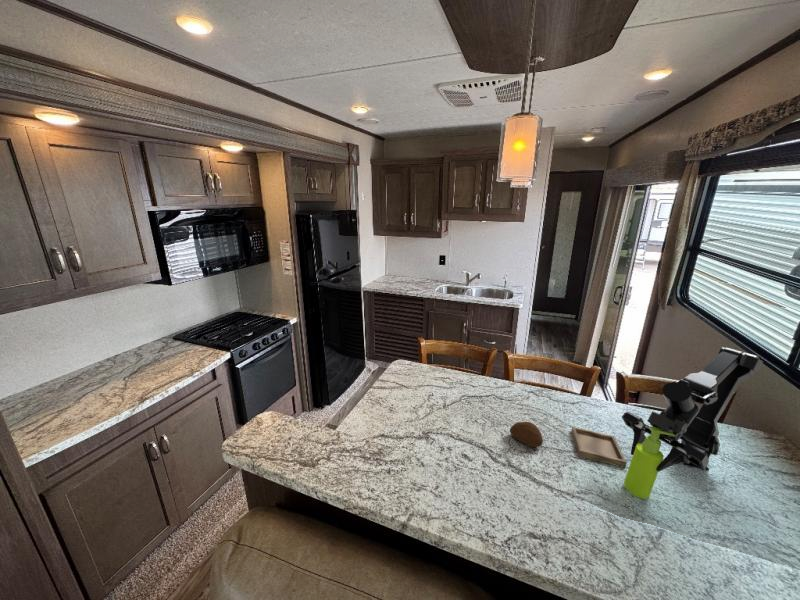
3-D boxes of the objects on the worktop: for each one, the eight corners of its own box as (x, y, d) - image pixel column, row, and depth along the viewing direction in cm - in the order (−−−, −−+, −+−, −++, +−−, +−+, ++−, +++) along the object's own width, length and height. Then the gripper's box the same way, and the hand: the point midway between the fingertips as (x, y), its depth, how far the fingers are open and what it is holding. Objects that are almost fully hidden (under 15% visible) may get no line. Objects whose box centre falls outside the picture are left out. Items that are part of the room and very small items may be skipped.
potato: (512, 429, 110) (515, 411, 108) (544, 442, 104) (547, 424, 103) (506, 439, 105) (509, 421, 103) (539, 454, 99) (543, 435, 97)
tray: (612, 441, 107) (614, 436, 106) (625, 467, 95) (626, 462, 95) (571, 431, 111) (572, 426, 110) (578, 455, 99) (579, 450, 99)
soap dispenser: (658, 501, 84) (681, 439, 78) (629, 495, 85) (651, 434, 79) (646, 484, 89) (667, 424, 84) (619, 478, 90) (638, 419, 85)
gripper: (633, 386, 90) (601, 428, 88) (717, 424, 74) (680, 477, 72) (641, 404, 96) (611, 444, 94) (722, 444, 79) (688, 493, 78)
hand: (644, 462), depth 84 cm, fingers closed on soap dispenser, 6 cm apart
